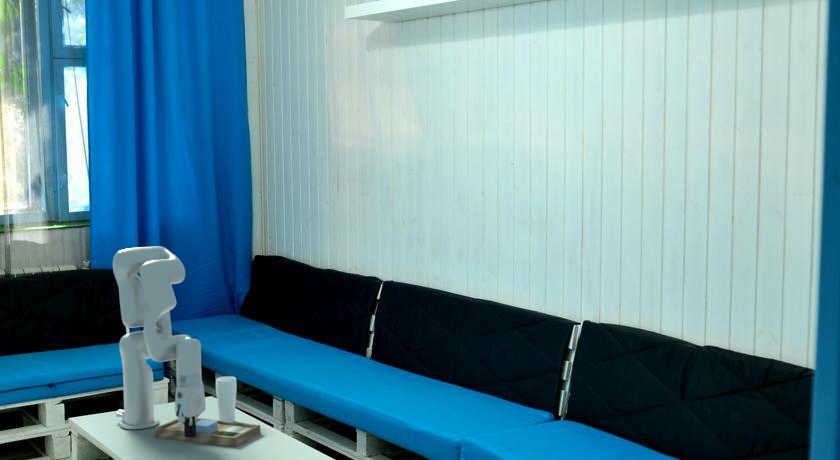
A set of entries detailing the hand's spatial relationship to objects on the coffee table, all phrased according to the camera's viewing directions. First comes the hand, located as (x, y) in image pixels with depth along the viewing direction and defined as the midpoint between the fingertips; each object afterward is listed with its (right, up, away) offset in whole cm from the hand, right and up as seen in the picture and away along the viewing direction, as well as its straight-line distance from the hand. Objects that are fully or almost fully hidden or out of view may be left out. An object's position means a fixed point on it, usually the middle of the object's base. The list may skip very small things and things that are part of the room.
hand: (190, 436), depth 290 cm
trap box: (+3, -2, +12) cm, 12 cm away
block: (+2, 0, +9) cm, 9 cm away
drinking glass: (+6, -1, +27) cm, 27 cm away
